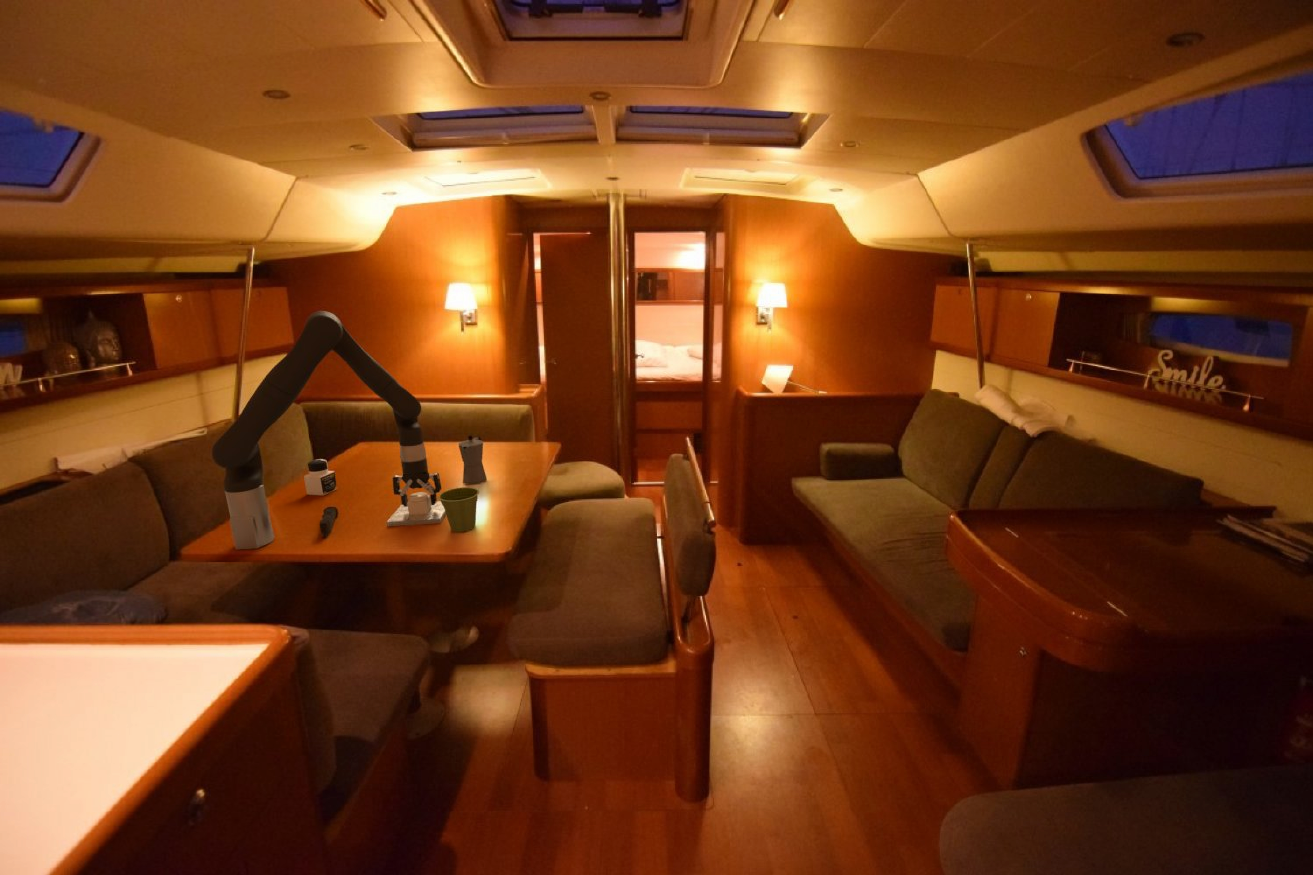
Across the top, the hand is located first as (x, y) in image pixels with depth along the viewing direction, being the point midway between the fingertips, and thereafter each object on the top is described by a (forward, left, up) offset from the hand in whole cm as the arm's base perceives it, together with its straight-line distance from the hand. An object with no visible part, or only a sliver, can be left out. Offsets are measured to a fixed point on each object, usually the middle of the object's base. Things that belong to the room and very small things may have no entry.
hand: (419, 505), depth 191 cm
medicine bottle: (+29, +43, -4) cm, 52 cm away
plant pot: (-13, -16, -4) cm, 21 cm away
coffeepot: (+34, -11, -4) cm, 36 cm away
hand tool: (-6, +26, -4) cm, 27 cm away
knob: (0, 0, -2) cm, 2 cm away
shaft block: (0, 0, -3) cm, 3 cm away
